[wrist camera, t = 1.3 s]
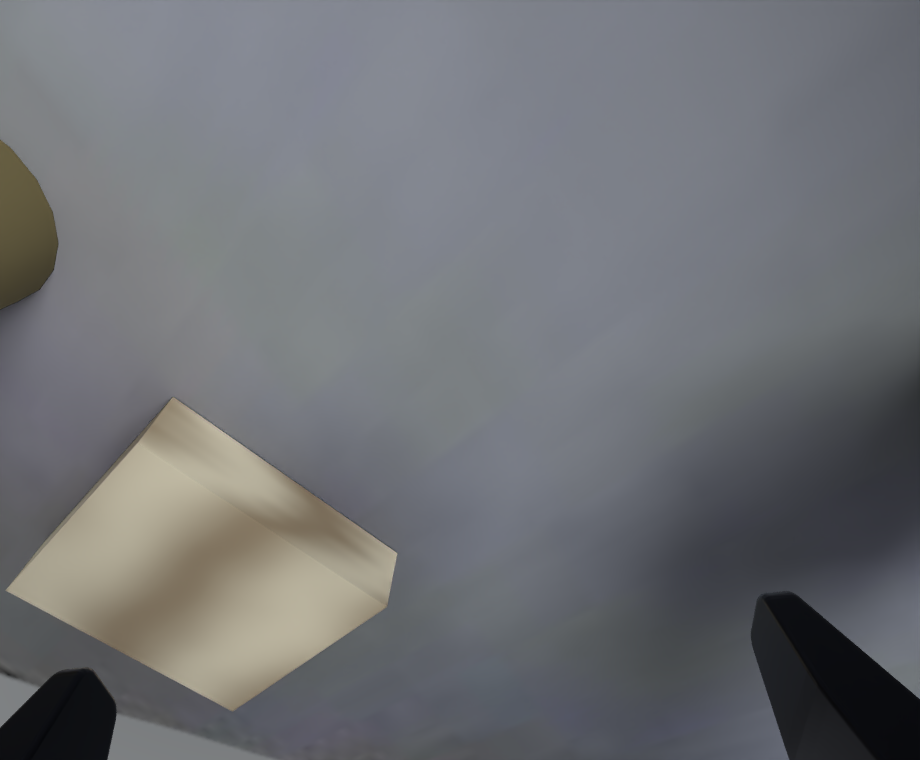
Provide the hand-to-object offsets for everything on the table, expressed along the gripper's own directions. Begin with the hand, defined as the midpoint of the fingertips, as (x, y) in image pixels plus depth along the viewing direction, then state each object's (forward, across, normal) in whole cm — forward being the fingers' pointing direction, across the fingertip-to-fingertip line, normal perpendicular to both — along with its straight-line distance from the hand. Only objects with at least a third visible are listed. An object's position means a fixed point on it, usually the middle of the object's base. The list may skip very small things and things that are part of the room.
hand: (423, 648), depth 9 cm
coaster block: (+13, +10, +11) cm, 20 cm away
